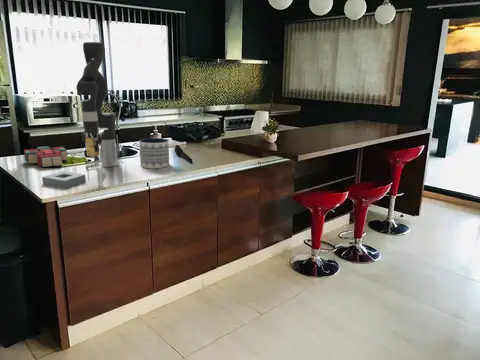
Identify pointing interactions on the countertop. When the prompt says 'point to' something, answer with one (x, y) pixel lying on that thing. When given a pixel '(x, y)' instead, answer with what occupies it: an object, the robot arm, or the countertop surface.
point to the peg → (91, 147)
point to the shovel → (182, 154)
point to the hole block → (64, 179)
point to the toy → (46, 156)
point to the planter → (154, 152)
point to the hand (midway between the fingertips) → (93, 150)
